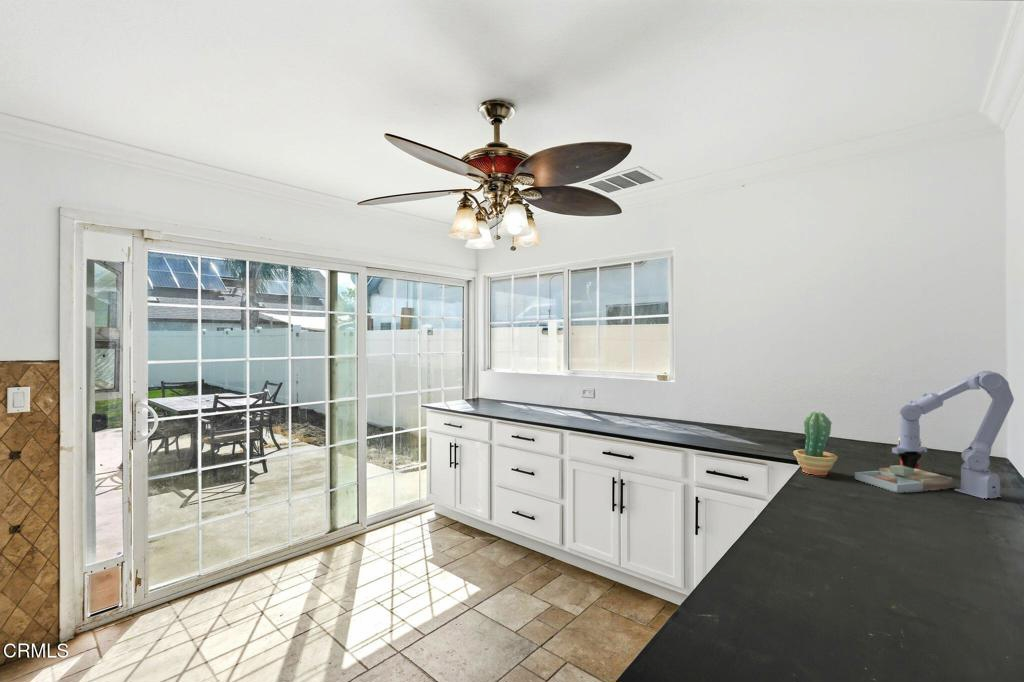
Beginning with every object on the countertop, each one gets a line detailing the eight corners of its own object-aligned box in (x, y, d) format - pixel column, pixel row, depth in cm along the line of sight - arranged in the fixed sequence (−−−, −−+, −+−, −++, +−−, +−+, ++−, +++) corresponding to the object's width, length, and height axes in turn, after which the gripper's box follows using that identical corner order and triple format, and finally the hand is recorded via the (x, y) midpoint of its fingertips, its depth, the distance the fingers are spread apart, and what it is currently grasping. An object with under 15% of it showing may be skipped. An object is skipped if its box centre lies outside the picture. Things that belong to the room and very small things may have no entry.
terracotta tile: (886, 479, 172) (886, 486, 172) (897, 478, 173) (897, 485, 173) (873, 475, 177) (873, 482, 177) (883, 475, 178) (883, 481, 178)
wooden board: (952, 488, 172) (952, 477, 172) (923, 491, 169) (923, 480, 169) (906, 476, 188) (906, 466, 188) (879, 478, 185) (879, 468, 185)
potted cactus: (847, 479, 183) (847, 415, 183) (807, 478, 183) (808, 414, 183) (821, 468, 199) (822, 409, 199) (785, 467, 199) (785, 409, 199)
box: (923, 491, 169) (923, 482, 169) (897, 493, 166) (897, 484, 166) (879, 478, 185) (879, 470, 185) (854, 480, 182) (854, 472, 182)
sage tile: (913, 475, 175) (914, 468, 175) (903, 476, 174) (903, 469, 174) (899, 471, 180) (900, 465, 180) (889, 472, 179) (890, 465, 179)
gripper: (913, 433, 184) (912, 467, 184) (884, 434, 180) (883, 469, 180) (933, 436, 177) (932, 472, 177) (903, 438, 173) (902, 474, 173)
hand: (909, 471), depth 178 cm, fingers closed
